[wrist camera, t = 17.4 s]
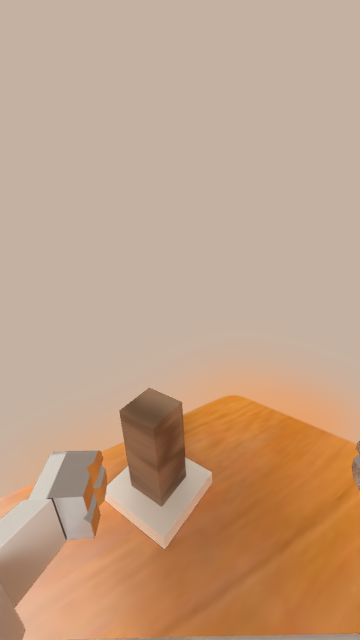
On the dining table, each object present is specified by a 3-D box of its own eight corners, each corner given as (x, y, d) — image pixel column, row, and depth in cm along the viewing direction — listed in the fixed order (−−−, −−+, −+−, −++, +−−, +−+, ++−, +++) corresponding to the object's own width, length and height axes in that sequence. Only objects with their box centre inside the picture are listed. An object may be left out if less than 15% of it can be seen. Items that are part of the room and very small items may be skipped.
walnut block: (156, 458, 42) (149, 387, 37) (186, 476, 39) (181, 402, 35) (131, 485, 39) (119, 410, 34) (161, 507, 36) (153, 428, 31)
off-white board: (156, 449, 46) (155, 439, 45) (212, 483, 41) (212, 472, 40) (105, 500, 39) (102, 489, 38) (164, 549, 33) (163, 538, 33)
